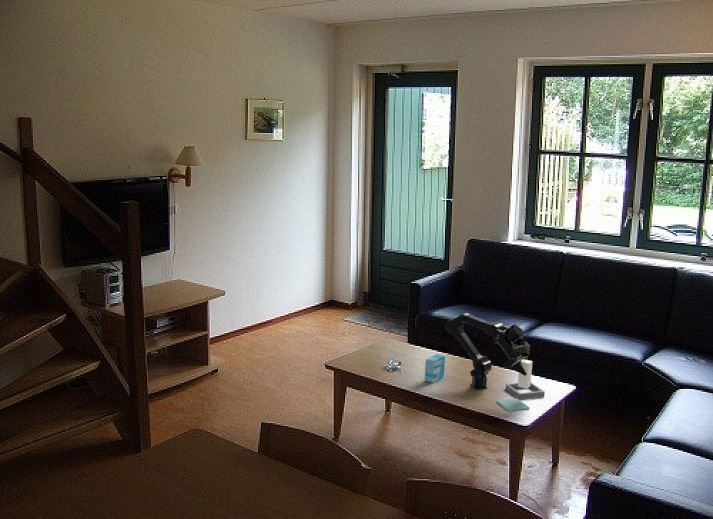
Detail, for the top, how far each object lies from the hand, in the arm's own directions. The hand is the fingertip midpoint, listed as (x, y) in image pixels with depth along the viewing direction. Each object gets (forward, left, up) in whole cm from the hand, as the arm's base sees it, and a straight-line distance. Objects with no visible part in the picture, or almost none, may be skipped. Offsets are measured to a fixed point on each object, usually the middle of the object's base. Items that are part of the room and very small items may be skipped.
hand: (527, 373), depth 330 cm
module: (-1, +1, -7) cm, 7 cm away
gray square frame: (+5, +9, -14) cm, 17 cm away
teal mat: (-9, -4, -14) cm, 17 cm away
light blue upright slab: (-32, +35, -14) cm, 50 cm away
